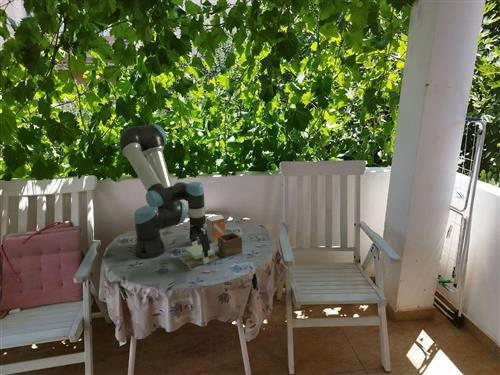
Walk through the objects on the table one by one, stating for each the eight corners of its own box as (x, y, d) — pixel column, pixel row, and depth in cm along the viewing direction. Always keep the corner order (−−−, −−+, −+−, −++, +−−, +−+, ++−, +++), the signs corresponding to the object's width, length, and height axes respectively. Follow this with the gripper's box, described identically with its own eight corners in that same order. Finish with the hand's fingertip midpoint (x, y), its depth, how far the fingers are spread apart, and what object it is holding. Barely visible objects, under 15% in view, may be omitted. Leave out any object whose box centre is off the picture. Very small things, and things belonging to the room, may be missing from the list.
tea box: (218, 253, 193) (217, 236, 191) (234, 248, 198) (233, 232, 195) (226, 259, 187) (225, 242, 184) (242, 254, 191) (241, 237, 189)
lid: (186, 254, 188) (185, 248, 187) (204, 248, 193) (204, 243, 192) (195, 262, 179) (195, 256, 178) (214, 256, 184) (214, 251, 183)
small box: (213, 244, 204) (211, 221, 200) (207, 240, 209) (205, 217, 205) (226, 240, 208) (225, 217, 204) (220, 236, 213) (219, 214, 210)
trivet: (183, 260, 187) (182, 257, 187) (209, 252, 194) (209, 249, 194) (191, 268, 179) (191, 265, 179) (218, 260, 186) (218, 257, 186)
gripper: (215, 220, 173) (218, 265, 179) (194, 207, 192) (197, 247, 198) (200, 224, 169) (204, 269, 175) (180, 210, 188) (183, 251, 194)
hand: (200, 258), depth 187 cm, fingers closed on lid, 11 cm apart
